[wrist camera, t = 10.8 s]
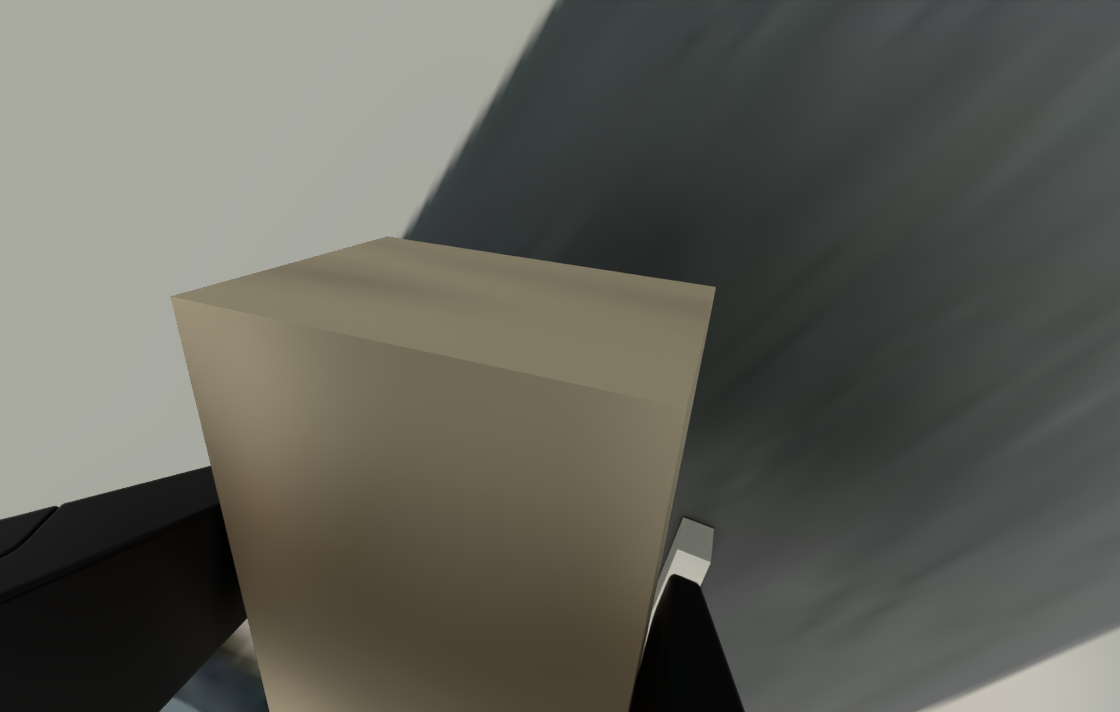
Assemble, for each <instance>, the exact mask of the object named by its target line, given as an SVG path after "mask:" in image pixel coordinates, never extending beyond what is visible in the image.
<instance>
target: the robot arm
mask: <svg viewBox="0 0 1120 712" xmlns="http://www.w3.org/2000/svg"><path fill="white" fill-rule="evenodd" d="M246 619H247V614H246V610H245V606H244V602H243V598H242V593H241V589H240V585H239V581H238V577H237V572H236V568H235V564H234V560H233V556H232V552H231V547H230V543H229V539H228V535H227V531H226V526H225V522H224V518H223V514H222V510H221V505H220V501H219V497H218V493H217V489H216V484H215V480H214V476H213V472H212V468H211V466H208V467H204V468H200V469H196V470H192V471H188V472H185V473H181V474H177V475H173V476H169V477H165V478H161V479H157V480H153V481H150V482H146V483H142V484H138V485H134V486H130V487H126V488H122V489H119V490H115V491H111V492H107V493H103V494H99V495H95V496H91V497H87V498H84V499H80V500H76V501H72V502H68V503H65V504H63V505H61V506H60V507H57V506H52V507H48V508H44V509H41V510H37V511H33V512H29V513H25V514H21V515H18V516H13V517H9V518H5V519H1V520H0V712H159V711H160V710H161V709H162V708H163V707H164V706H165V705H166V704H167V703H168V702H169V701H170V700H171V699H172V698H173V697H174V695H175V694H176V693H177V692H178V691H179V690H180V689H181V688H182V687H183V686H184V685H185V684H186V683H187V682H188V681H189V679H190V678H191V677H192V676H193V675H194V674H195V673H196V672H197V671H198V670H199V669H200V668H201V667H202V666H203V665H204V664H205V662H206V661H207V660H208V659H209V658H210V657H211V656H212V655H213V654H214V653H215V652H216V651H217V650H218V649H219V648H220V647H221V645H222V644H223V643H224V642H225V641H226V640H227V639H228V638H229V637H230V636H231V635H232V634H233V633H234V632H235V631H236V630H237V628H238V627H239V626H240V625H241V624H242V623H243V622H244V621H245V620H246ZM630 712H745V711H744V708H743V705H742V702H741V699H740V697H739V694H738V691H737V688H736V685H735V683H734V680H733V677H732V674H731V671H730V668H729V666H728V663H727V660H726V657H725V654H724V652H723V649H722V646H721V643H720V640H719V637H718V635H717V632H716V629H715V626H714V623H713V621H712V618H711V615H710V612H709V609H708V606H707V604H706V601H705V598H704V595H703V592H702V590H701V587H700V586H699V584H698V583H696V582H694V581H692V580H689V579H687V578H685V577H682V576H680V575H677V574H672V575H671V576H670V577H669V578H668V581H667V583H666V585H665V588H664V590H663V593H662V595H661V598H660V600H659V602H658V605H657V607H656V610H655V612H654V615H653V618H652V622H651V625H650V629H649V633H648V637H647V641H646V645H645V648H644V652H643V656H642V660H641V664H640V668H639V672H638V676H637V681H636V685H635V690H634V695H633V699H632V704H631V709H630Z"/></svg>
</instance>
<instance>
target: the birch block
mask: <svg viewBox="0 0 1120 712" xmlns="http://www.w3.org/2000/svg"><path fill="white" fill-rule="evenodd" d="M715 290H716V287H712V286H706V285H699V284H693V283H686V282H680V281H673V280H667V279H660V278H653V277H647V276H640V275H634V274H627V273H621V272H614V271H608V270H601V269H595V268H588V267H582V266H575V265H569V264H562V263H556V262H549V261H543V260H536V259H530V258H523V257H516V256H510V255H503V254H497V253H490V252H484V251H477V250H471V249H464V248H458V247H451V246H445V245H438V244H432V243H425V242H419V241H412V240H406V239H399V238H393V237H385V238H381V239H377V240H374V241H370V242H366V243H363V244H360V245H356V246H352V247H349V248H345V249H341V250H338V251H334V252H330V253H327V254H324V255H320V256H316V257H312V258H309V259H305V260H301V261H298V262H294V263H290V264H287V265H283V266H280V267H276V268H272V269H269V270H265V271H261V272H258V273H254V274H251V275H247V276H243V277H240V278H236V279H233V280H229V281H225V282H222V283H219V284H214V285H211V286H207V287H203V288H200V289H196V290H193V291H189V292H185V293H182V294H178V295H175V296H171V300H172V304H173V309H174V312H175V317H176V321H177V325H178V329H179V334H180V338H181V342H182V346H183V350H184V355H185V359H186V363H187V367H188V371H189V376H190V379H191V384H192V388H193V392H194V397H195V400H196V405H197V409H198V413H199V417H200V421H201V426H202V430H203V434H204V438H205V443H206V446H207V451H208V455H209V459H210V464H211V468H212V472H213V476H214V480H215V484H216V489H217V493H218V497H219V501H220V505H221V510H222V514H223V518H224V522H225V526H226V531H227V535H228V539H229V543H230V547H231V552H232V556H233V560H234V564H235V568H236V572H237V577H238V581H239V585H240V589H241V593H242V598H243V602H244V606H245V610H246V614H247V619H248V623H249V627H250V631H251V635H252V640H253V644H254V648H255V652H256V656H257V660H258V665H259V669H260V673H261V677H262V681H263V686H264V690H265V694H266V698H267V702H268V707H269V711H270V712H630V709H631V704H632V699H633V695H634V690H635V685H636V681H637V676H638V672H639V668H640V664H641V660H642V656H643V652H644V648H645V644H646V639H647V634H648V629H649V624H650V618H651V613H652V608H653V603H654V598H655V593H656V588H657V583H658V578H659V573H660V568H661V563H662V558H663V553H664V548H665V543H666V538H667V532H668V527H669V522H670V517H671V512H672V507H673V502H674V497H675V492H676V487H677V482H678V477H679V472H680V467H681V462H682V457H683V452H684V446H685V441H686V436H687V431H688V426H689V421H690V416H691V411H692V406H693V401H694V396H695V391H696V386H697V381H698V376H699V371H700V366H701V360H702V355H703V350H704V345H705V340H706V335H707V330H708V325H709V320H710V315H711V310H712V305H713V300H714V295H715Z"/></svg>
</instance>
